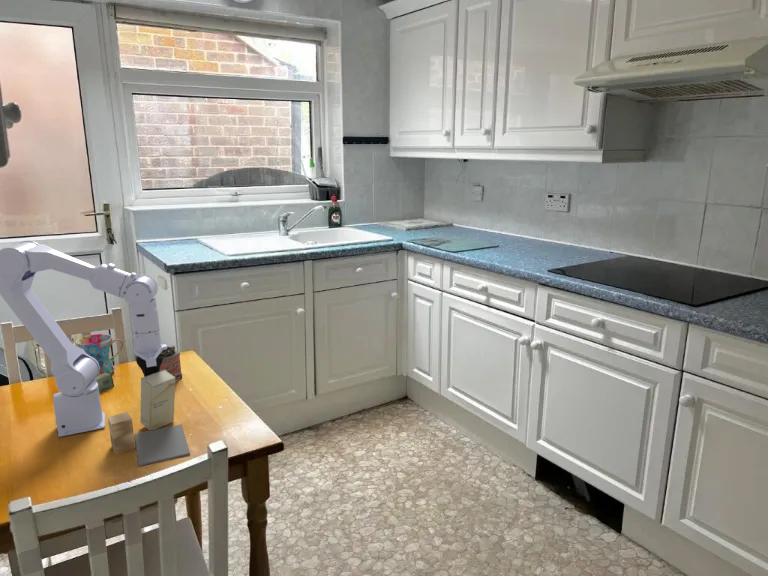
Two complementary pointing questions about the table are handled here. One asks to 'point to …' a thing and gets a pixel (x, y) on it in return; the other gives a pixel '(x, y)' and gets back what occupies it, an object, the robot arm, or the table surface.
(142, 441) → the plate
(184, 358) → the table surface
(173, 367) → the reddish brown pouch
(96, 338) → the mug
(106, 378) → the medication box
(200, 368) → the table surface
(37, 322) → the robot arm
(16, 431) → the table surface
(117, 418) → the oak block
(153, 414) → the skincare box
